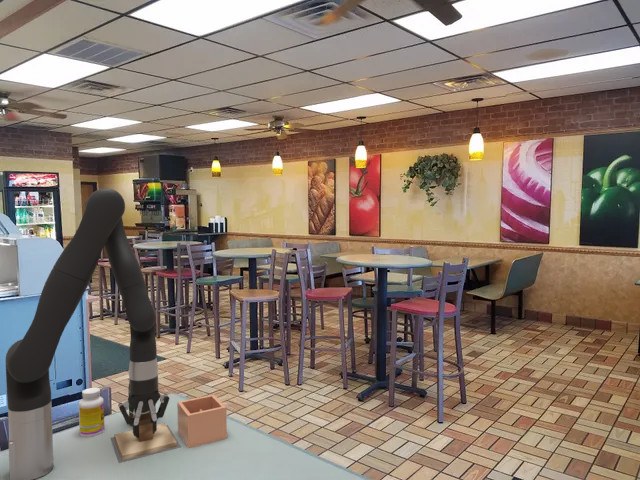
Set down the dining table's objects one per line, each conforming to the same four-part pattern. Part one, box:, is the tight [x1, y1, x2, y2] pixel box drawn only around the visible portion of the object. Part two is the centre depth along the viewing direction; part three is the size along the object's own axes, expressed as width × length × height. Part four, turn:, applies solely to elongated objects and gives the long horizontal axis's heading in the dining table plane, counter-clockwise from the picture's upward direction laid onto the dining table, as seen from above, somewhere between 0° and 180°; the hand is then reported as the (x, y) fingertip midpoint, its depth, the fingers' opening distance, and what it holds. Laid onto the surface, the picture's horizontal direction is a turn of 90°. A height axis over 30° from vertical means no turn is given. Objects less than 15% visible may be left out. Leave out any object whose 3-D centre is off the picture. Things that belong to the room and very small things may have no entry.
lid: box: [113, 419, 177, 460], centre depth 132 cm, size 14×14×6 cm
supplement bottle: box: [78, 387, 105, 438], centre depth 138 cm, size 7×7×13 cm
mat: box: [110, 424, 182, 464], centre depth 132 cm, size 16×16×1 cm
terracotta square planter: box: [176, 394, 228, 449], centre depth 136 cm, size 11×11×10 cm
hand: (145, 434), depth 132 cm, fingers closed on lid, 3 cm apart
